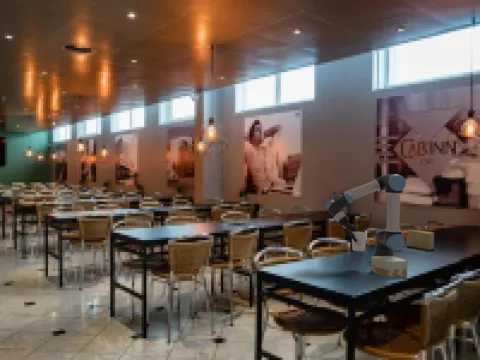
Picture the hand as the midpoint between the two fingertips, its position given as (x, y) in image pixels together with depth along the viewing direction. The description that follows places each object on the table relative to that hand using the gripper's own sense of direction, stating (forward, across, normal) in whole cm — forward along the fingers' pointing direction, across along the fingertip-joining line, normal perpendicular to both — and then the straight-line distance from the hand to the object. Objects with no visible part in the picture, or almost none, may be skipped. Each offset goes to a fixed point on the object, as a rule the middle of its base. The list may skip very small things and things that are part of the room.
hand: (363, 244), depth 280 cm
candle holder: (+1, 0, -6) cm, 6 cm away
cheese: (+15, -116, -11) cm, 117 cm away
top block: (+21, 0, +4) cm, 21 cm away
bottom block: (+25, 0, 0) cm, 25 cm away
